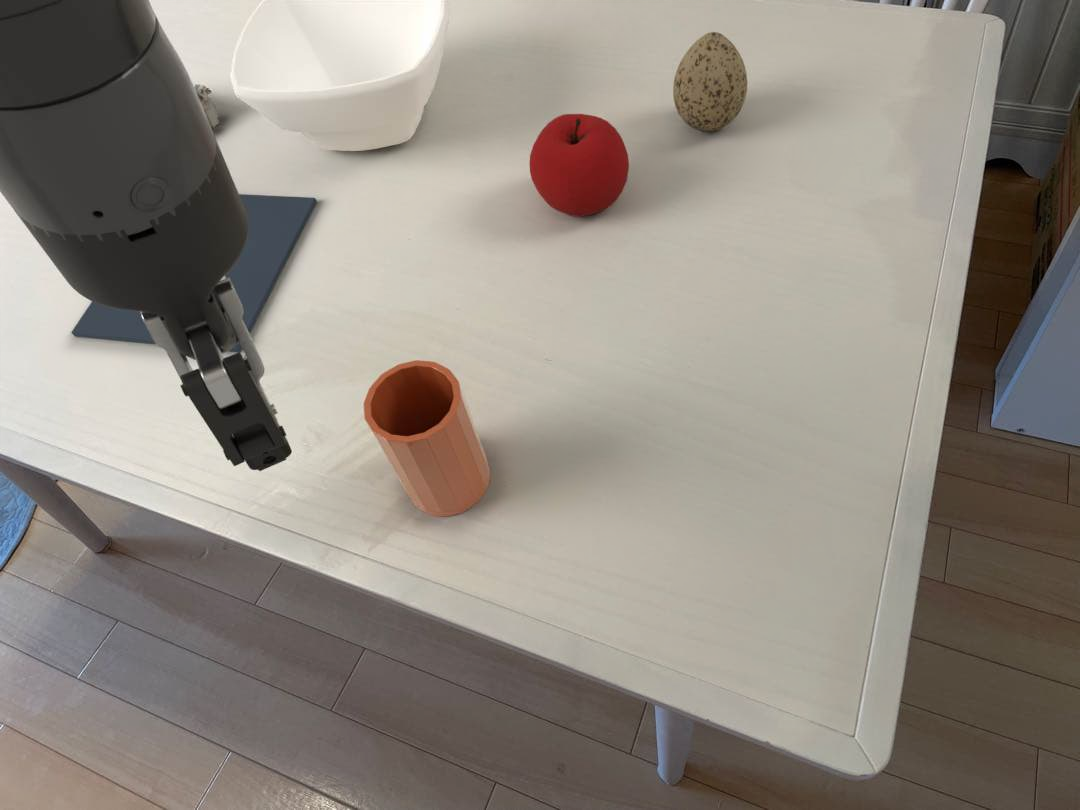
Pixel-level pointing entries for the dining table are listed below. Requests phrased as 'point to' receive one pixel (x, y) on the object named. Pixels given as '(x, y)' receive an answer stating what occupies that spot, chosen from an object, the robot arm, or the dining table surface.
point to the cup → (428, 436)
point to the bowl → (342, 67)
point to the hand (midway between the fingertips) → (246, 398)
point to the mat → (251, 275)
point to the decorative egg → (710, 83)
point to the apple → (579, 164)
